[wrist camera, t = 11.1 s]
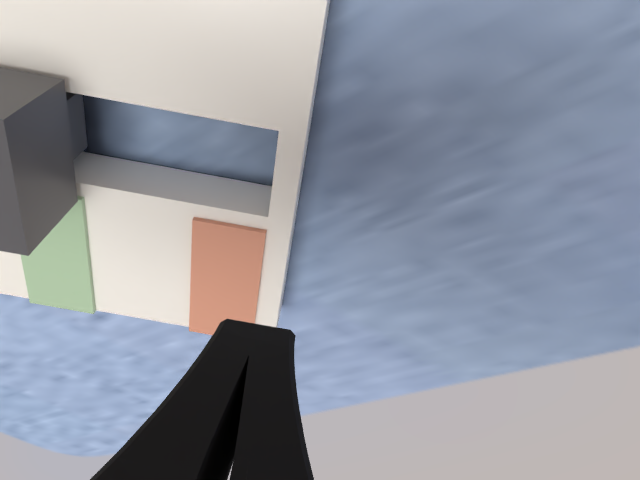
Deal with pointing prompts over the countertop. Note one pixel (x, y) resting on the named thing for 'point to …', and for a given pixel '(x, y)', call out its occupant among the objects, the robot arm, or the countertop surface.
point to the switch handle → (36, 156)
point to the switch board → (163, 182)
